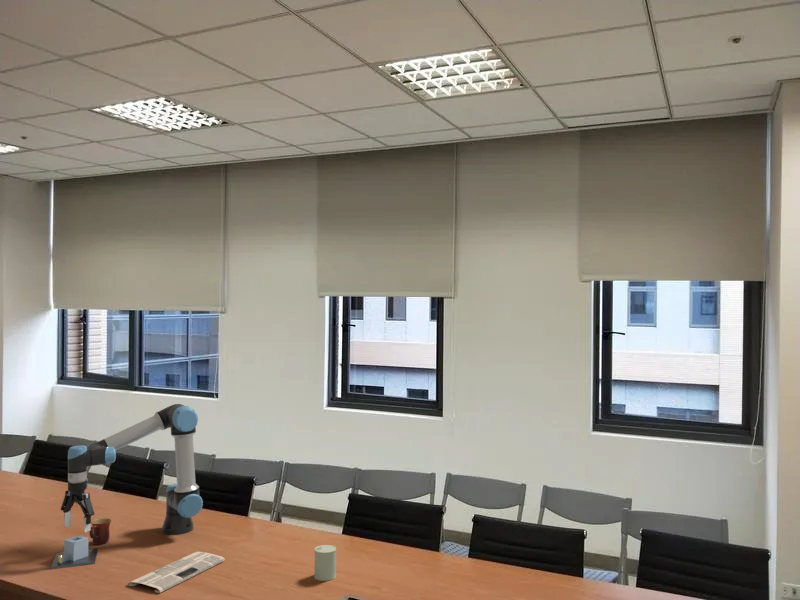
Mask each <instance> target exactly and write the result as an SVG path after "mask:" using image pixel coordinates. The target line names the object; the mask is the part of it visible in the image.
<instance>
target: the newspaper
mask: <svg viewBox="0 0 800 600" xmlns="http://www.w3.org/2000/svg"><path fill="white" fill-rule="evenodd" d="M225 560H226V559H225V557H223V556H221V555H217V554H213V553H209V552H204V551H195V552H193V553H191V554H188V555H185V556H184V557H182V558H180V559H177V560H175V561H173V562H171V563H169V564H166V565H164V566H163V567H162V566H161V567H160V568H158V569H156V570H152V571H151V572H148V573H147V574H144V575H142V576H140V577H138V578H135V579H133V580H131V581H129V582H127V586H128V587H136V586H137V585H140V584H142V585H145V586H148V587H152V588H155V590H153V592H155V593H157V594H161V593H163V592H165V591H167V590H169V589H170V588H171V589H172V588H173V587H175V586H177V585H180V584H182V583H183V582H185V581H187V580H188V579H191V578H193V577H195V576H198V575H199V574H202V573H203V572H205V571H207V570H209V569H211V568H213V567H215V566H217V565H219V564H222V563H224V561H225Z"/></svg>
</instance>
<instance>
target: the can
mask: <svg viewBox="0 0 800 600" xmlns="http://www.w3.org/2000/svg"><path fill="white" fill-rule="evenodd" d="M313 573H314V575H313V579H315V580H316V581H321V582H328V581H332V580H335V579H336V577H337V547H336V546H335V545H332V544H321V545H318V546H316V547H315V548H314V572H313Z"/></svg>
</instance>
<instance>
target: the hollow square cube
mask: <svg viewBox="0 0 800 600" xmlns="http://www.w3.org/2000/svg"><path fill="white" fill-rule="evenodd" d="M89 540H90V539H89V537H87V536H84V535H83V536H82V535H75V536H72V537H69V538H66V539H64V540H63V552H64V555H62V563H63V562H66V561H69V560H71V561H75V560H78V559H81V558H84V557H87V556H88V549H89ZM57 563H58V557H57Z"/></svg>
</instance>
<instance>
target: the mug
mask: <svg viewBox="0 0 800 600" xmlns="http://www.w3.org/2000/svg"><path fill="white" fill-rule="evenodd" d="M111 523H112V519H111V518H107V517H105V518H97V519H94V520H91V524H90V525H91V526H90V531H88V532H89V537H90V539H91V541H92V543H93V545H96V546H102V545H105V544H107V543H108V542H109V541H110V531H111V530H110V527H111Z"/></svg>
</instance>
